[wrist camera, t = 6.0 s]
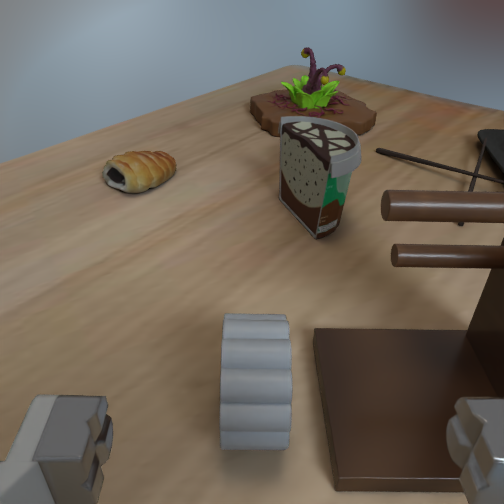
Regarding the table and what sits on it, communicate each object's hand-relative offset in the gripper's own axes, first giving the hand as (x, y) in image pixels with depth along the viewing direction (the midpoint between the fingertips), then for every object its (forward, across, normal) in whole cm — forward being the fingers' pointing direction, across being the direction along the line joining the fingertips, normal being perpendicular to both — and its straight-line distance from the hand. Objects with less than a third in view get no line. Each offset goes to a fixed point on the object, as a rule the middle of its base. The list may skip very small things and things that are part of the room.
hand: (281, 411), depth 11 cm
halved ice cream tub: (+42, -8, +19) cm, 46 cm away
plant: (+73, -10, +19) cm, 76 cm away
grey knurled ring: (+13, 0, +19) cm, 23 cm away
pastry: (+49, +14, +19) cm, 54 cm away
